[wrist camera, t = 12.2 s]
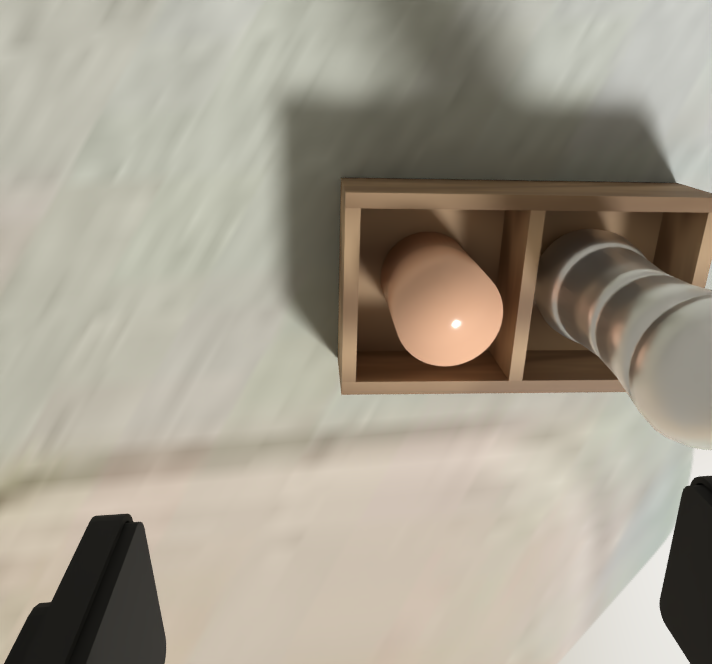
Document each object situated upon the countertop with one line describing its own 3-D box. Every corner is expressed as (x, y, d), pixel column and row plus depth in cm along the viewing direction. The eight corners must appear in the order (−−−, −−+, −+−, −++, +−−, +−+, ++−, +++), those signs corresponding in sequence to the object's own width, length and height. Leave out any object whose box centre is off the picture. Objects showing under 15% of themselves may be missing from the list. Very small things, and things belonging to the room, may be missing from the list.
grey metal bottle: (532, 335, 41) (719, 549, 23) (512, 237, 39) (704, 388, 20) (629, 306, 41) (899, 498, 22) (616, 205, 38) (907, 329, 20)
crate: (340, 177, 37) (345, 192, 33) (676, 182, 39) (726, 197, 34) (337, 358, 42) (341, 394, 37) (639, 357, 43) (679, 391, 38)
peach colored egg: (382, 231, 38) (397, 264, 31) (474, 231, 38) (508, 264, 32) (378, 319, 40) (392, 366, 34) (466, 318, 40) (497, 365, 34)
